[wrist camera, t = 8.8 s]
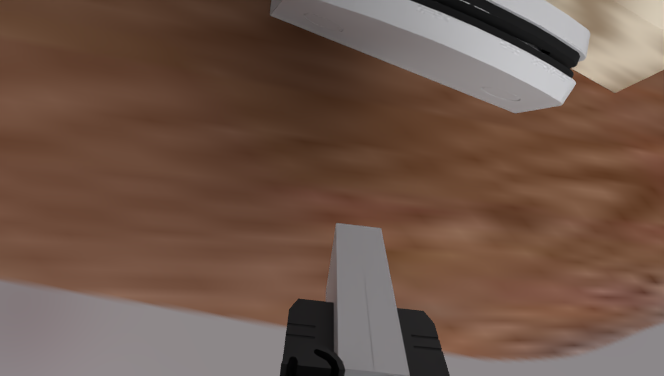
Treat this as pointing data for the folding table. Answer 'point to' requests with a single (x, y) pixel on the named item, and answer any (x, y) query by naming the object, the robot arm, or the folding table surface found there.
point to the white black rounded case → (459, 43)
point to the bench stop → (619, 39)
